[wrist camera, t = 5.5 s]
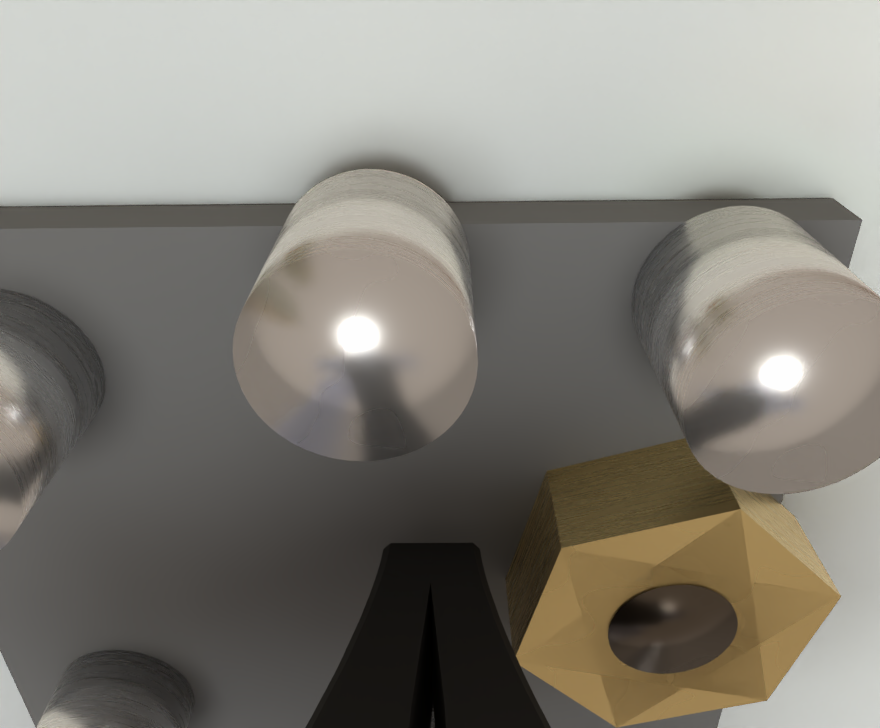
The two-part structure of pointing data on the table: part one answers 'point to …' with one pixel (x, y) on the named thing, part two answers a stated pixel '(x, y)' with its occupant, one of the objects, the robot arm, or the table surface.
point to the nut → (661, 587)
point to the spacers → (465, 368)
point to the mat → (301, 471)
